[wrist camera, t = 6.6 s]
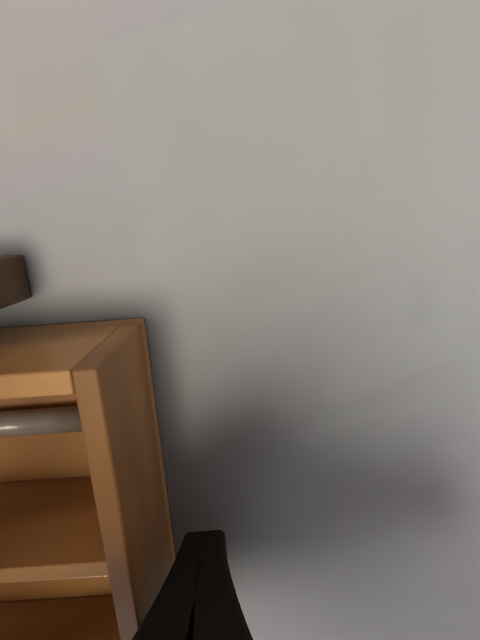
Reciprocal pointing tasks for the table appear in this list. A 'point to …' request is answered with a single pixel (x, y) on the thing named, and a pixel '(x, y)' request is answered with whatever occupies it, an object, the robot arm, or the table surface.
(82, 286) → the table surface
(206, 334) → the table surface
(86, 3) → the table surface
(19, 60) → the table surface
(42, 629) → the cutlery tray
